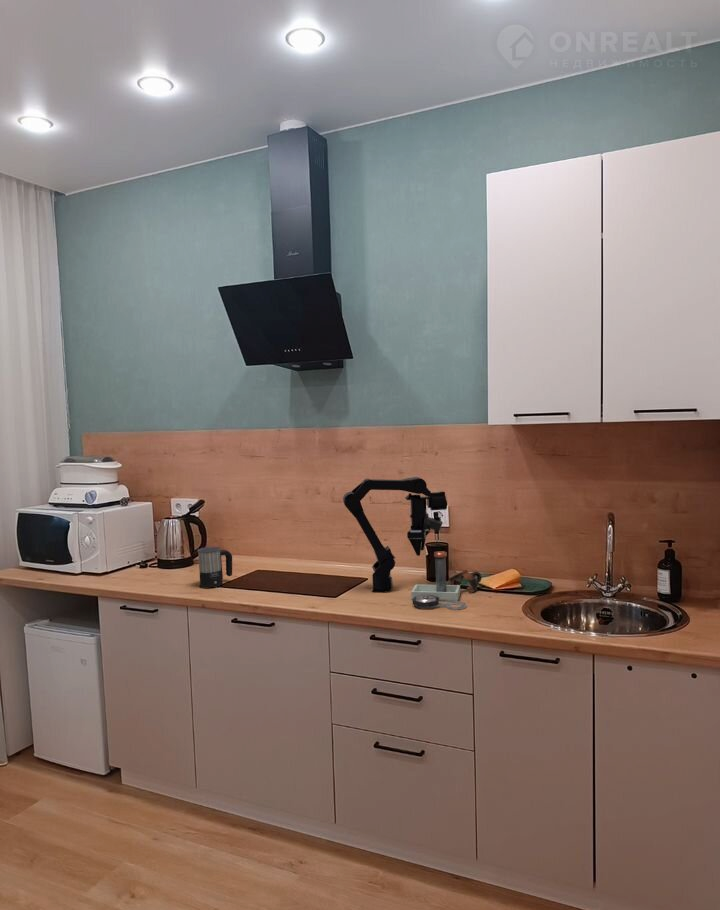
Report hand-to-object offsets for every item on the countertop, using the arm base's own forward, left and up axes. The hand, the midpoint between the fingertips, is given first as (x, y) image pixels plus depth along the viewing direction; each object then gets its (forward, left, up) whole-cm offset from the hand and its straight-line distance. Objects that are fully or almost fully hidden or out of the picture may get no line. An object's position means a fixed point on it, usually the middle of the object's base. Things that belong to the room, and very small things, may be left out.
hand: (420, 552), depth 247 cm
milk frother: (-86, -1, -13) cm, 87 cm away
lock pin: (+9, -12, -12) cm, 19 cm away
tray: (+7, -12, -13) cm, 19 cm away
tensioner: (+10, -23, -13) cm, 28 cm away
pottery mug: (+17, -2, -13) cm, 22 cm away
